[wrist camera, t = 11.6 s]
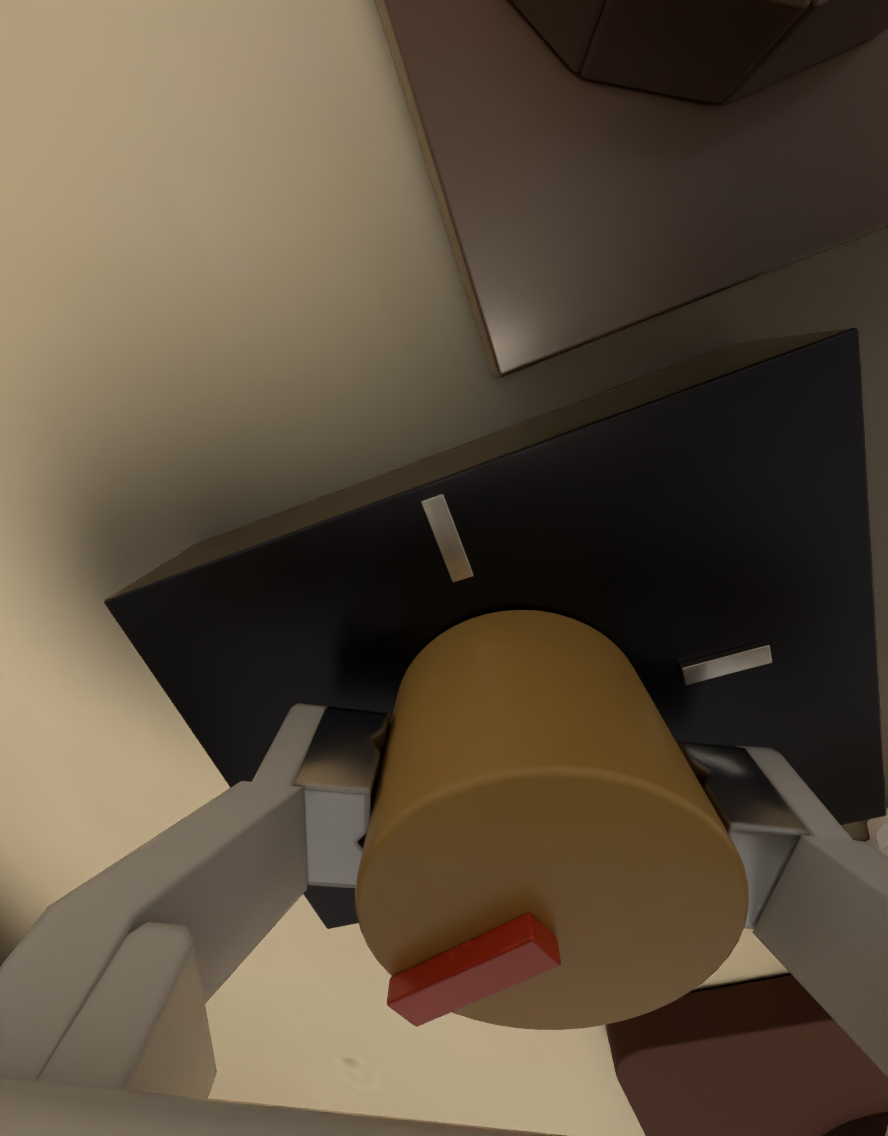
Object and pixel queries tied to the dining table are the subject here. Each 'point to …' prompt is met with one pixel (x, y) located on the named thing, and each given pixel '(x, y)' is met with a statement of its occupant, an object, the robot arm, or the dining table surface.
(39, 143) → the dining table surface
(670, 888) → the dimmer knob
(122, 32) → the dining table surface
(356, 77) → the dining table surface
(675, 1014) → the door handle
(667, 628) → the dimmer
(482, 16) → the switch block
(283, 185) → the dining table surface
